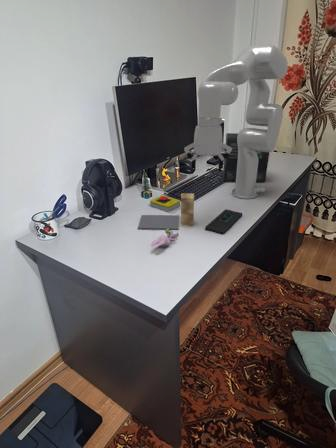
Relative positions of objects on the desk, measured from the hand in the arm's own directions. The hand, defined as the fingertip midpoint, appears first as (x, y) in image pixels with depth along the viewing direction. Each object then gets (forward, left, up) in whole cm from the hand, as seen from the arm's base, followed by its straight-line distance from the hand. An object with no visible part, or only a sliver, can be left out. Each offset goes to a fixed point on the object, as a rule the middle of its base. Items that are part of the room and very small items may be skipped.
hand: (207, 170), depth 115 cm
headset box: (-24, -55, -23) cm, 64 cm away
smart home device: (-8, -1, -23) cm, 24 cm away
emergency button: (+17, -17, -23) cm, 33 cm away
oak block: (+7, 0, -22) cm, 23 cm away
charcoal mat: (+19, 0, -22) cm, 29 cm away
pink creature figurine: (+15, +17, -23) cm, 32 cm away
